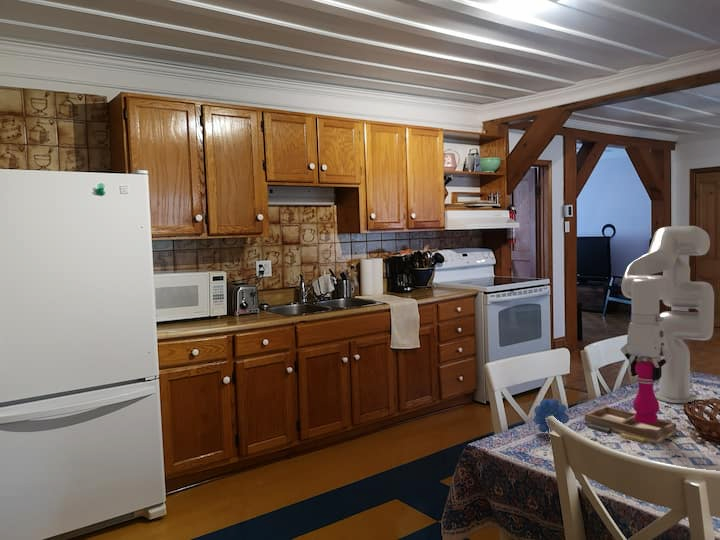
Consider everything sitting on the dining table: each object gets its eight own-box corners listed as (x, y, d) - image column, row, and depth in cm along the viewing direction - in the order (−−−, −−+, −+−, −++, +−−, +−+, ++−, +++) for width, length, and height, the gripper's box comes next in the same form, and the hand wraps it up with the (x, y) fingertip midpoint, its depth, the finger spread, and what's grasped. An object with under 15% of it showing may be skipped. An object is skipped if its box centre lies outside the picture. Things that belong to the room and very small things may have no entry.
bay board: (605, 414, 191) (605, 405, 191) (676, 433, 173) (676, 423, 172) (580, 425, 183) (580, 416, 183) (651, 445, 164) (651, 435, 164)
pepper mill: (658, 426, 169) (658, 360, 167) (631, 422, 173) (631, 357, 171) (660, 418, 175) (660, 354, 173) (634, 415, 179) (634, 352, 177)
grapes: (575, 435, 174) (575, 397, 173) (565, 442, 170) (564, 403, 169) (541, 427, 183) (540, 390, 182) (530, 433, 178) (529, 395, 177)
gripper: (681, 320, 166) (681, 380, 168) (624, 314, 181) (625, 370, 182) (668, 324, 162) (668, 385, 164) (611, 317, 176) (612, 374, 178)
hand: (645, 377), depth 173 cm, fingers closed on pepper mill, 6 cm apart
